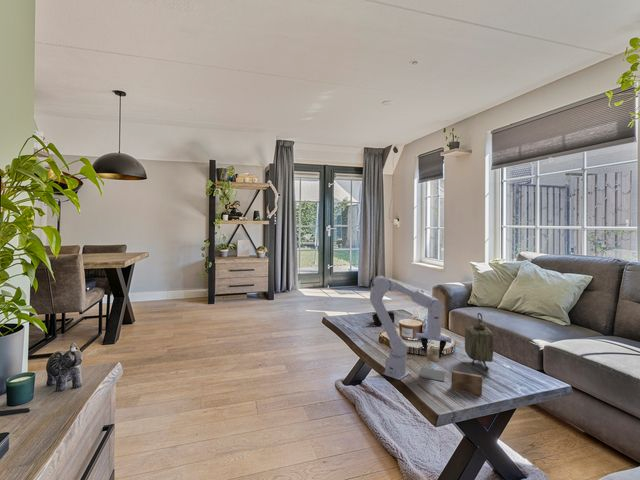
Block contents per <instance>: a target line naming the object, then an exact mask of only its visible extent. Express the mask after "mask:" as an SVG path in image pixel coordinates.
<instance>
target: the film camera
mask: <svg viewBox="0 0 640 480" xmlns="http://www.w3.org/2000/svg"><path fill="white" fill-rule="evenodd" d="M387 312H388V314H389V316H390V318H391V320H392V322H393V323H394V324H395V312H394V311H390V310H389V311H387ZM371 316H372V320H373V326H374V325H375V326H374V327H382V326H381V325H382V323H381V321H380V319H379V317H378V315H377V313H376V312H375V313H373V314H372V315H371Z"/></svg>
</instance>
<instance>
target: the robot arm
mask: <svg viewBox="0 0 640 480" xmlns="http://www.w3.org/2000/svg"><path fill="white" fill-rule="evenodd" d="M388 291H390V292H394V291H396V292H398V293H401V294H403V295H405V296H407V297H410V298H411V301H412V302H413V303H415V304H417V305H419V306H421V307H423V308H425V309H427V317H426V318H427V319H426V333H421V332H416V335H415V338H416V339H421V340H420V342H421V343H422V345H423V347H424V354H425V355H424V356H425V357H427V343H428V340H430V341H436V342H437V341H438V342H439V347H440V352H439V359H441V358H442V355H443V354H442V351H443V349H444V348H445V347H446V345H447V343H448V344H452V337H451V336H445V335H442V333H441V331H442V312H443V311H444V308H445V307H444V304H443V302H442V301H441V300H439V299H438V298H436V296H434V295H430V294H428V293H426V292H425V290H423V289H416V290H413V289H411V288H410V287H408V286H405V285H404V284H402V283H400V282H398V281H397V280H394V279H393V278H389V277H385V276H384V275H381V274H380V275H376V276H375V277H373V279H372V281H371V283H370V292H369V293H370V294H369V301H370V303H371V305H372V307H373V309H374V311H375V313H377V315H378V317H379V319H380V321H381V323H382V325H383V326H382V327H383V329H384V331H385V333H386V335H387V337H388V339H389V346H390V347H391V349H390V350H389V355H388V357H387V358H386V360H385V364H384V365H385V367H384V369H385V370H384V372H383V375H385V376H387V377H390V378H393V379H395V380H398V381H400V380H402V379H404V378H405V377H407V376H408V375H409V374H411V372H410V371H407V354H408V347H409V346H408V345H407V344H406V343H405V342H404V339H403V338H402V337H401V336H400V335H399V333H398V331H397V328H396V327H395V324H394V325H393V322H392V320H391V318H390V316H389V314H388V312H389V311H387V309H386V307H385V304H384V302H383V301H382V300H383V298H384V296H385V295H386V294H387V292H388ZM444 350H445V349H444Z"/></svg>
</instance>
